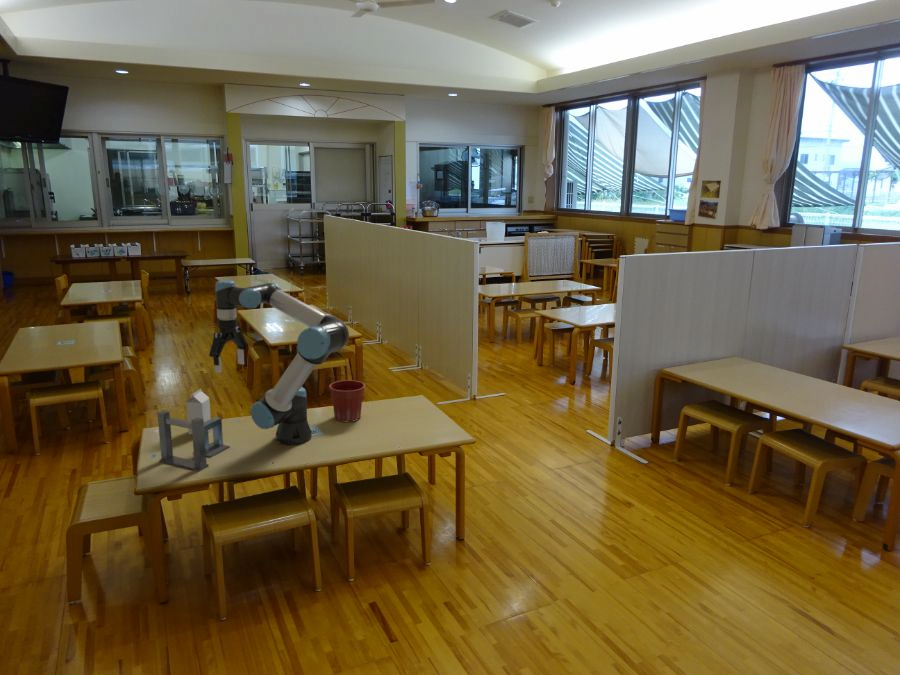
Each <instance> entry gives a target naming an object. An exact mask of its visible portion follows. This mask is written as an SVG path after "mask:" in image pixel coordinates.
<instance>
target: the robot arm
mask: <svg viewBox="0 0 900 675" xmlns="http://www.w3.org/2000/svg"><path fill="white" fill-rule="evenodd" d="M235 283H236V282H235V281H234V280H229V279H226V280H224V279H223V280H218V281H216V282H215V288H214V289H215V299H216V302H215V303H216V304H215V305H216V317H217V328H218V329H219V332H214V333H213V340H212V343H211V348H210V351H209V355H208V356H209V357H211V358H213V364H214V372H215V373H217V374H218V373H219V374H222V373H223V369H222V357H221V353H222V352H223V349H224V347H225V345H226V344H227V343H228V342H230V341H232V342H233V343H234V344H235V346H236V347H237V349H236V354H237V364H239V365H245V350H246V349H247V347H248V342H247V340H246V338H245V336H244V334H243V331H242V329H243V328H242V327H241V326H238V319H237V317H238V316H237V307H241V308H246V309H255V308H257V307H258V306H259V305H260V304H267V305H269V306H271V307H272V308H275V309H276V310H278V311H280V312H281V313H283V314H285V315H287V316H289V317H291V318H293V319H294V320H296V321H298V322H300V323H301V324H303V325H305V326H306V327H307V328H305V329H304V330H302V331H301V332H300V333H299V335H298V336H297V341H296V343H297V345H296V352H297V354H296V355H295V357H294V358H293V359H292V360H291V362H290V363H289V365H288V367H287V368H286V369H285V371H284V373H283V374H282V375H281V377H280V378H279V380H278V381H277V382H276V384H275V386H274V387H273V388H270V389H269V390H267V391H266V392H265V394H264V395H263V397H262V398H261V399H260V400H259V401H256V402H254V403H253V404H252V405H251V407H250V415H251V419H252V421H253V422H254V424H255V425H256V426H258V428H260V429H262V430H268V429H272V428H273V427H274V428H275V426H277V429H276V432H275V441H276V442H278V443H280V444H283V445H298V444H299V445H300V444H303V443H306V442H309V441H310V440H311V439H312V438H313V436H312V433H313V432H312V430H311V427H310V424H309V422H308V408H307V407H308V406H307V404H308V403H307V400H308V398H307V390H306V389H305V388H304V387H303V385H304V384H305V382H307V381H306V380H307V379H308V378H309V377H310V376H311V374H312V372H313V371H314V369H315V368H316V366H321V365H322V364H323V363H325V361H326V359H327V358H328V357H329V355H330V354H331V353H334V352H337V351H338V350H341V349H343V348H344V347H346V345H347V344H348V341H349V338H350V331H349V329H348V327H347V324H346V323H344V322H343V320H341V319H340V318H338V317H336V316H334V315H332V314H331V313H328V314H325V313H323V312H322V311H320V310H318V309H316V308H314V307H312V306H311V305H309V304H307V303H305V302H303V301H301V300H299V299H297V298H295V297H293V296H292V295H290V294H289V293H287V292H284V291H282V288H281V287H280V285H279V284H277V283H275V282H266V283H263V284H258V285H253V286H247V287H239V286H236V284H235Z"/></svg>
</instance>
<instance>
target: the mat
mask: <svg viewBox="0 0 900 675" xmlns="http://www.w3.org/2000/svg"><path fill="white" fill-rule="evenodd" d="M230 448H231V446H230V445H226V444H223V446H221V447H216V446H214V443H213V442H211V443H210V442H209V451H210V452H209V453H207V454H206V458H212V457H214V456H216V455H218V454H220V453H222V452H224V451H226V450H228V449H230ZM192 454H194V451H193V452H192Z"/></svg>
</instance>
